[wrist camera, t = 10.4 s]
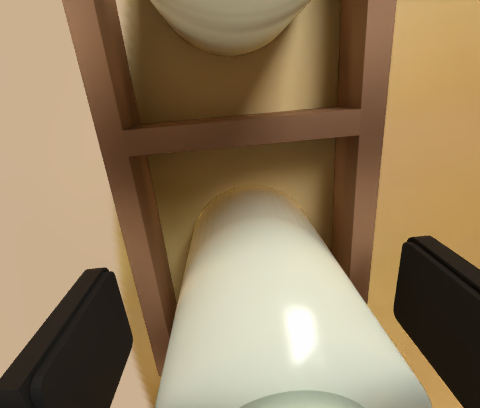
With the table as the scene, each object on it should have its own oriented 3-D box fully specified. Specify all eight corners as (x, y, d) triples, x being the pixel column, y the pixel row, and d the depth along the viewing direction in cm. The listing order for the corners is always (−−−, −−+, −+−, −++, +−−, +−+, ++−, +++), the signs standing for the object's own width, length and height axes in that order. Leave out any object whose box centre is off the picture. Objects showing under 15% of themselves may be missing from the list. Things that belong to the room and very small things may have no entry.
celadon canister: (183, 192, 12) (90, 420, 3) (310, 179, 12) (509, 374, 4) (200, 295, 14) (165, 604, 5) (309, 284, 14) (439, 570, 5)
